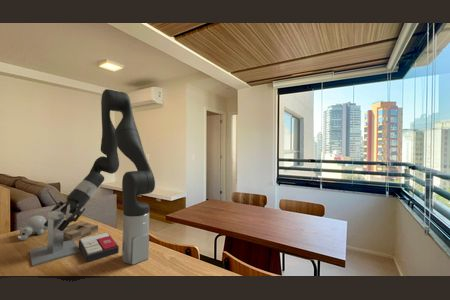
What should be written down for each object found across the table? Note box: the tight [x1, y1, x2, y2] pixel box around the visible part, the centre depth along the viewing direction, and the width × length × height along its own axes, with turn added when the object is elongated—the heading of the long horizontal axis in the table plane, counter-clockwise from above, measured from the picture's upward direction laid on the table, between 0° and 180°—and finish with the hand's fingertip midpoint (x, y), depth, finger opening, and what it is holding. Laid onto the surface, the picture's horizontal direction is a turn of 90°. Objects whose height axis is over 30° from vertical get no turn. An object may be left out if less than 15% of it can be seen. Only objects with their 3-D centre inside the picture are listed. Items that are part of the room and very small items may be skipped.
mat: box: [28, 240, 82, 268], centre depth 82 cm, size 14×14×1 cm
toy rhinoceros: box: [17, 215, 48, 241], centre depth 94 cm, size 7×12×8 cm, turn 173°
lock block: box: [63, 221, 99, 242], centre depth 98 cm, size 12×12×3 cm
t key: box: [46, 210, 65, 253], centre depth 82 cm, size 6×4×15 cm, turn 67°
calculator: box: [78, 232, 120, 264], centre depth 84 cm, size 11×4×15 cm
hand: (52, 228), depth 81 cm, fingers open, 8 cm apart
